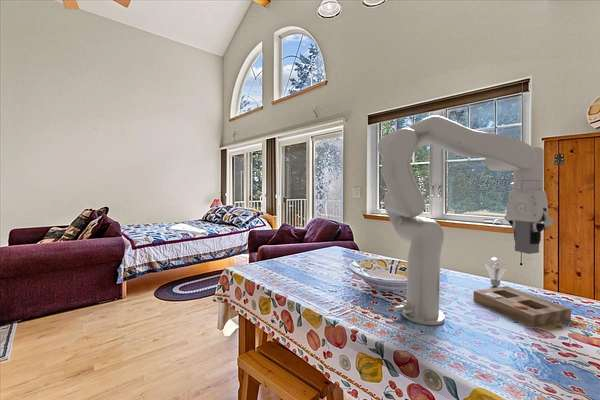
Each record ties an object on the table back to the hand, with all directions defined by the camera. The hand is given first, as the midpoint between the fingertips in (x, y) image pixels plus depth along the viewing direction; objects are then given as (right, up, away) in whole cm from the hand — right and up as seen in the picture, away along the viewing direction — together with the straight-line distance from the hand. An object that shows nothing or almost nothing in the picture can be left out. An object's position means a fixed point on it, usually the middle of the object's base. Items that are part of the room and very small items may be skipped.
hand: (526, 241), depth 91 cm
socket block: (-1, -23, +3) cm, 23 cm away
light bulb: (+6, -22, +23) cm, 33 cm away
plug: (0, -3, 0) cm, 3 cm away
